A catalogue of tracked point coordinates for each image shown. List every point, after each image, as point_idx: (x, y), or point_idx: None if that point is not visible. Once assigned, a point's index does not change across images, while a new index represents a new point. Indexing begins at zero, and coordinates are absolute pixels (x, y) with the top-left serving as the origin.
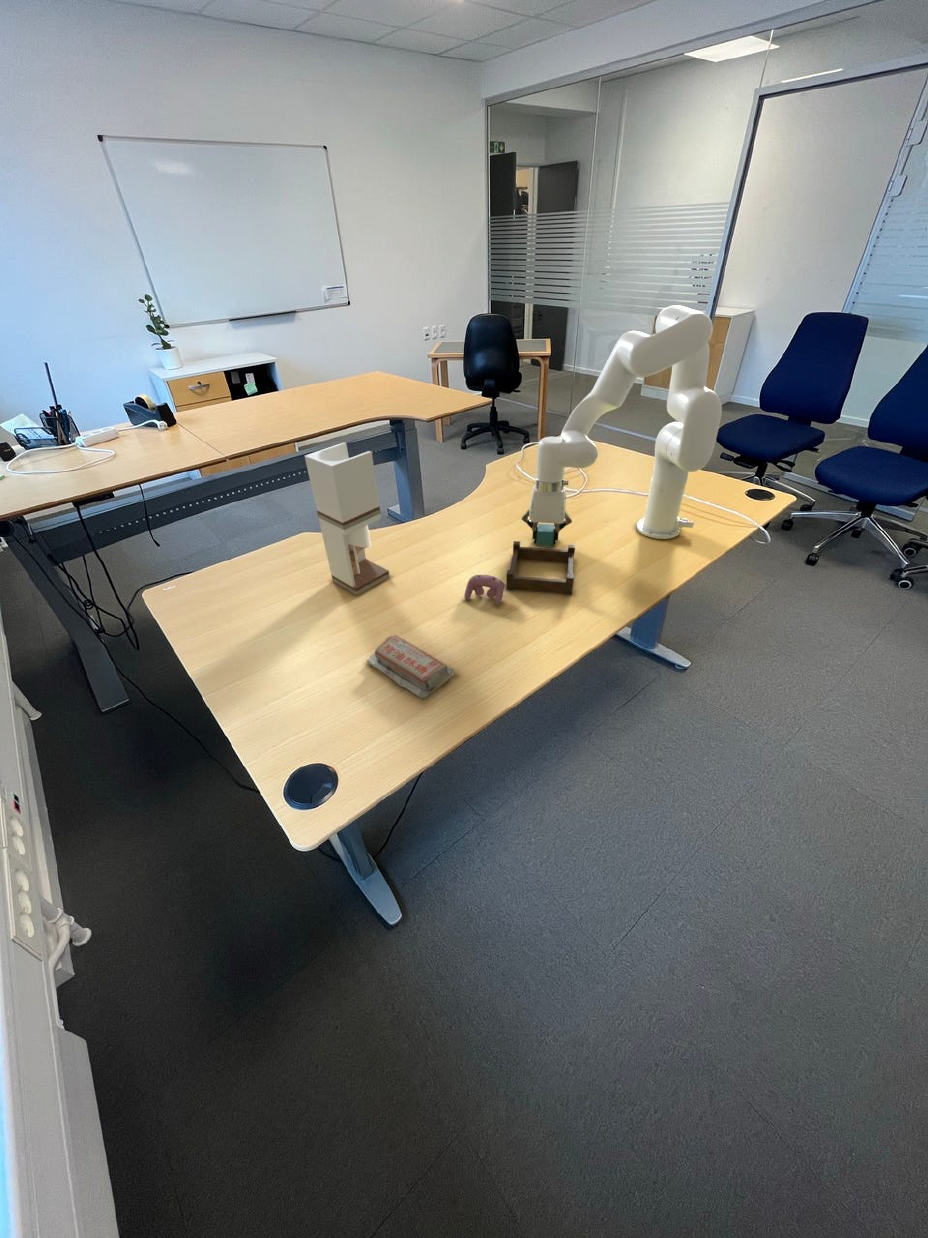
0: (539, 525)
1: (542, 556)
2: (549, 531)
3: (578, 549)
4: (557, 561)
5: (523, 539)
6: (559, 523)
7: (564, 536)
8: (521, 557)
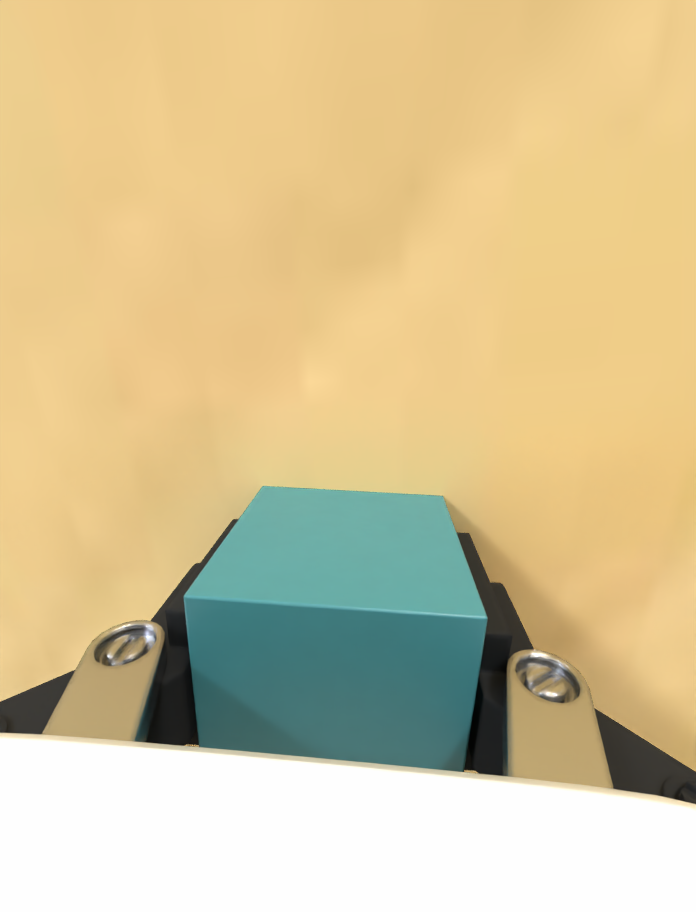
0: (211, 655)
1: None
2: None
3: (687, 684)
4: None
5: (122, 530)
6: (598, 755)
7: (584, 433)
8: None
